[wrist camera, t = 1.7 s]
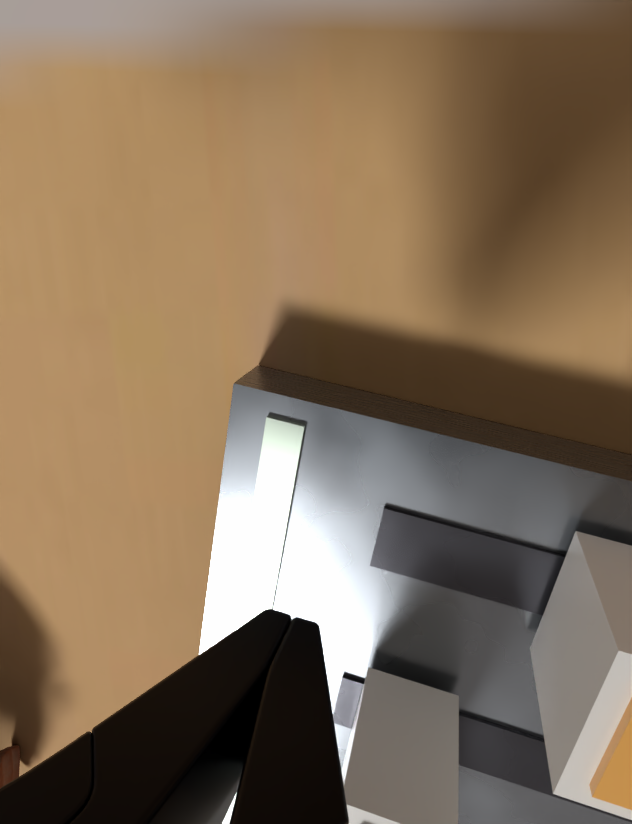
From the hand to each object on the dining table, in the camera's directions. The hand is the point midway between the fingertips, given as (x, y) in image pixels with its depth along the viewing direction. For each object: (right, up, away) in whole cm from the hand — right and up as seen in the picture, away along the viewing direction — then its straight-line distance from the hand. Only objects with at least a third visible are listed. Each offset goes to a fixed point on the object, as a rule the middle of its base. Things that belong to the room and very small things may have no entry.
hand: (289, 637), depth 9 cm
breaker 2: (+6, 0, +2) cm, 6 cm away
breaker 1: (+2, -4, +4) cm, 6 cm away
